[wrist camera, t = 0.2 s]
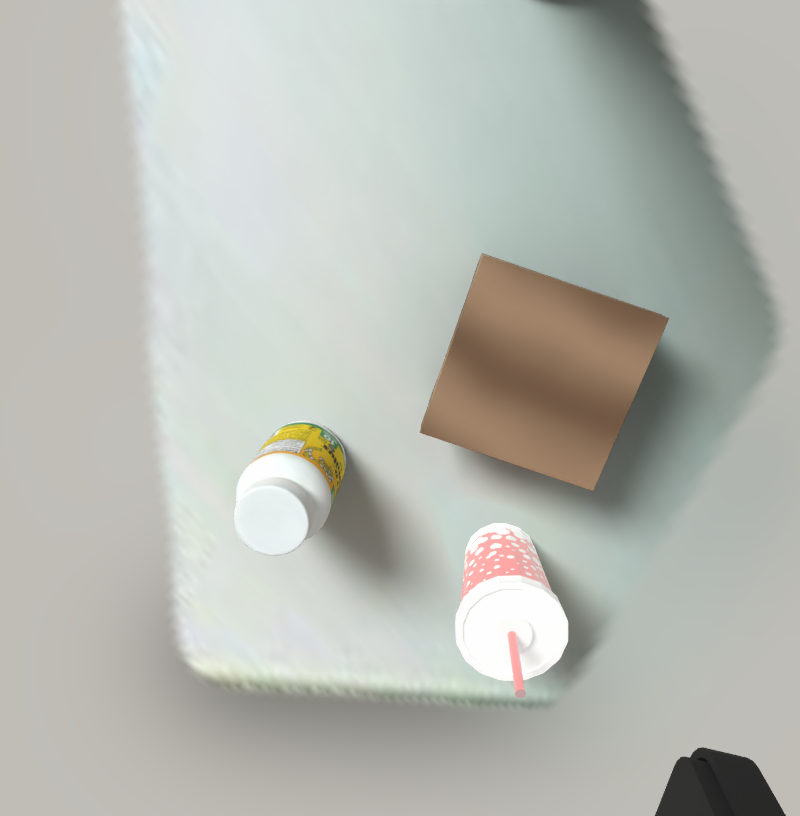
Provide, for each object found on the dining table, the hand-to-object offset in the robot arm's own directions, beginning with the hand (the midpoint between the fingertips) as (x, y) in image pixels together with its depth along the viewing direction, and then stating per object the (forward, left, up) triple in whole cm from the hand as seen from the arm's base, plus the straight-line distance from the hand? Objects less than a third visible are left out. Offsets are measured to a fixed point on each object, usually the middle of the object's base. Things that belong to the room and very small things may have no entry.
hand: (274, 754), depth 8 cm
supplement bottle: (+11, -4, -36) cm, 38 cm away
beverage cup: (+13, +10, -36) cm, 40 cm away
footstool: (0, +7, -36) cm, 37 cm away
